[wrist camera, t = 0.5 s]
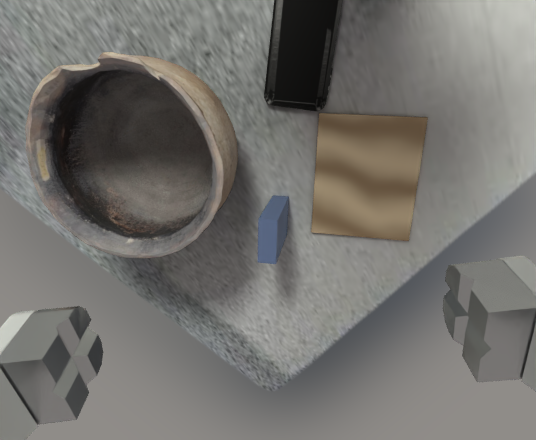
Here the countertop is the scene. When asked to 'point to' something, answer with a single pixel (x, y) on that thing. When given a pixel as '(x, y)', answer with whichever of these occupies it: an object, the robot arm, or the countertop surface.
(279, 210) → the box
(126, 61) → the ceramic bowl
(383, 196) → the mat
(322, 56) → the phone
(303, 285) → the countertop surface
